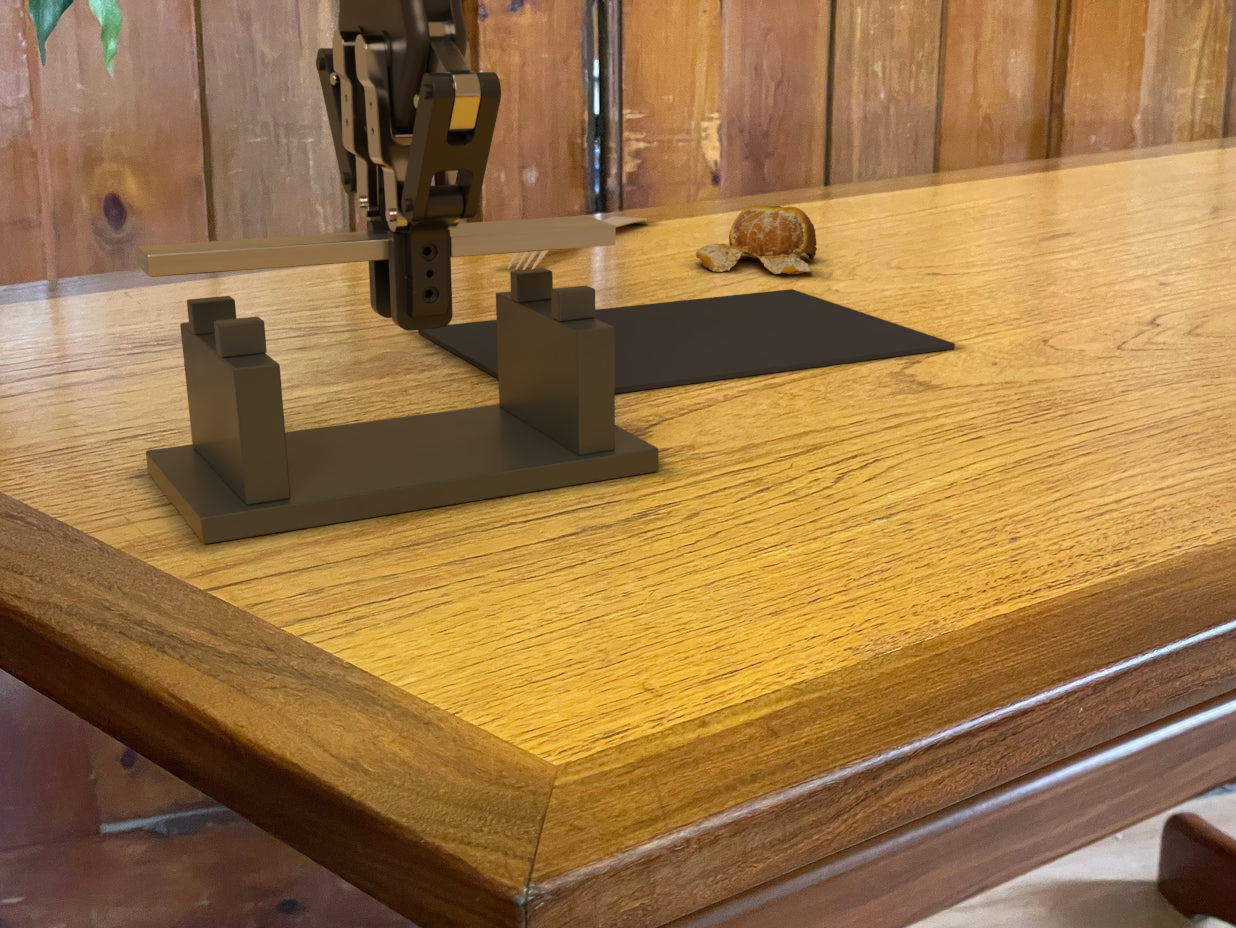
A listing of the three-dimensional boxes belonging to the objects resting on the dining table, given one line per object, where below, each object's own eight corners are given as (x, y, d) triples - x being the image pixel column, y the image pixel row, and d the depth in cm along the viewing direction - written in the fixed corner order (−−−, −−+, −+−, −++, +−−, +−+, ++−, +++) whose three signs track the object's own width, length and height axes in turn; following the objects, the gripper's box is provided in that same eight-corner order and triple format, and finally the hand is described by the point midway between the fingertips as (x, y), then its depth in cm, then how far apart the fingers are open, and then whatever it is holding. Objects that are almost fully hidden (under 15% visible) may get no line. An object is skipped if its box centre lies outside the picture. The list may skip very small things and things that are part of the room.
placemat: (540, 403, 74) (540, 397, 74) (418, 333, 87) (417, 327, 87) (954, 348, 85) (955, 343, 85) (792, 293, 98) (792, 289, 98)
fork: (653, 254, 123) (654, 217, 122) (539, 271, 103) (540, 227, 103) (619, 251, 124) (620, 215, 123) (499, 268, 104) (500, 225, 104)
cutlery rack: (203, 545, 56) (182, 342, 53) (147, 474, 63) (127, 293, 61) (659, 471, 65) (659, 294, 62) (564, 417, 72) (560, 256, 69)
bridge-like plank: (151, 280, 56) (149, 256, 55) (135, 265, 58) (133, 243, 57) (615, 245, 64) (616, 225, 64) (587, 234, 66) (587, 214, 66)
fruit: (686, 268, 105) (686, 212, 104) (731, 248, 112) (732, 195, 111) (806, 279, 102) (808, 221, 101) (844, 258, 110) (847, 204, 108)
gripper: (232, -165, 60) (265, 295, 66) (350, -182, 49) (377, 372, 55) (423, -155, 64) (438, 281, 70) (574, -168, 52) (576, 350, 59)
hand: (411, 319), depth 62 cm, fingers closed on bridge-like plank
